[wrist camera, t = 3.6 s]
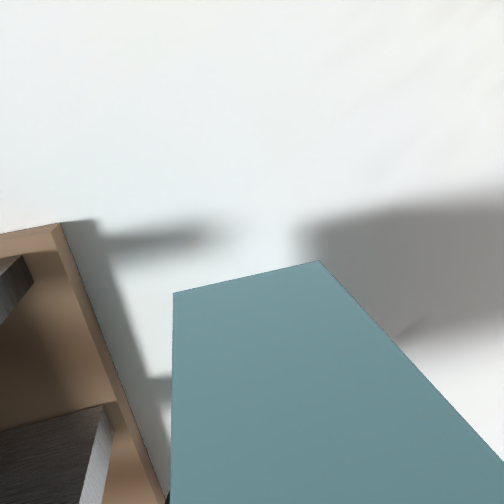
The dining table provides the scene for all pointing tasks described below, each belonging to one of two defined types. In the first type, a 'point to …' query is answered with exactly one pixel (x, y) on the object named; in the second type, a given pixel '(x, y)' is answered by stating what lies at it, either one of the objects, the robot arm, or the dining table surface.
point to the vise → (66, 361)
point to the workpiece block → (309, 403)
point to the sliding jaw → (51, 435)
